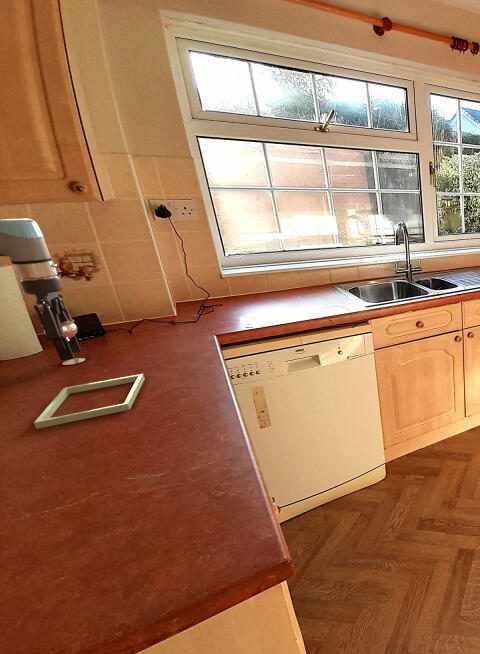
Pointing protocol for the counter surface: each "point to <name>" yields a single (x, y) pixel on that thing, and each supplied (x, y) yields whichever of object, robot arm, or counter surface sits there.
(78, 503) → the counter surface
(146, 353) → the counter surface
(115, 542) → the counter surface
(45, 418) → the green rectangular frame
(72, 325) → the wineglass
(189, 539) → the counter surface
